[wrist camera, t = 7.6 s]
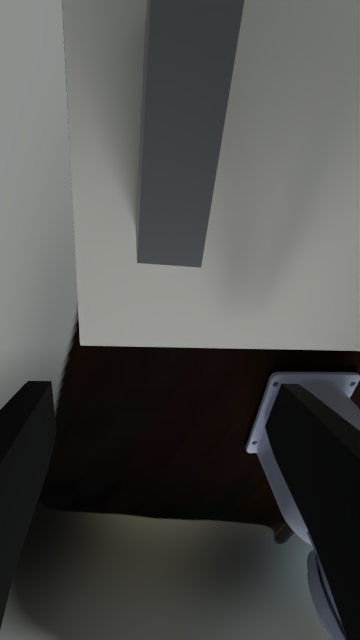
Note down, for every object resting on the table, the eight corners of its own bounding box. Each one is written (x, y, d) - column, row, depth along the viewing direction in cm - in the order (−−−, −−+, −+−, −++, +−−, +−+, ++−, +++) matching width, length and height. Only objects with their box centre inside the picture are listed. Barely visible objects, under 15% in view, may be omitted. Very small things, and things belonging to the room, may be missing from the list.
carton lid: (379, 343, 15) (459, 405, 11) (82, 335, 12) (61, 413, 8) (620, -102, 8) (1039, -321, 4) (51, -343, 5) (-136, -1469, 2)
